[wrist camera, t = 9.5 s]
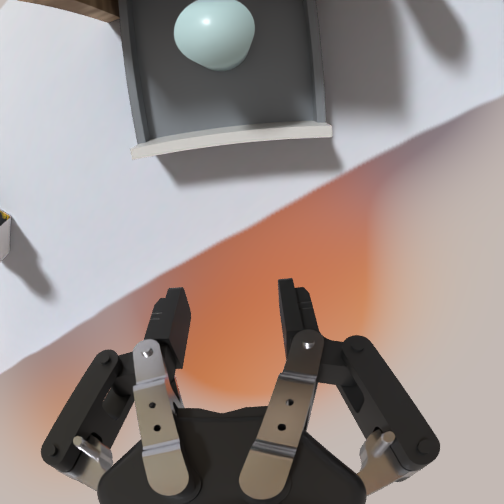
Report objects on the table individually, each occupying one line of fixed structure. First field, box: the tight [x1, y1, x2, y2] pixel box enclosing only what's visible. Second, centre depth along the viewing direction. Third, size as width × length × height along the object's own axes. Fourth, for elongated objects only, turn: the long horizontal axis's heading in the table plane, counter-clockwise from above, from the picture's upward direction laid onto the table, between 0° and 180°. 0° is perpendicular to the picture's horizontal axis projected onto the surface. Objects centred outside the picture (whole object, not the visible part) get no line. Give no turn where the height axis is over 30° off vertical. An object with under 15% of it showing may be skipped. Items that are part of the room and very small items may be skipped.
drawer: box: [118, 0, 332, 160], centre depth 20 cm, size 17×17×4 cm
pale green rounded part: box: [174, 0, 255, 71], centre depth 17 cm, size 5×5×9 cm
